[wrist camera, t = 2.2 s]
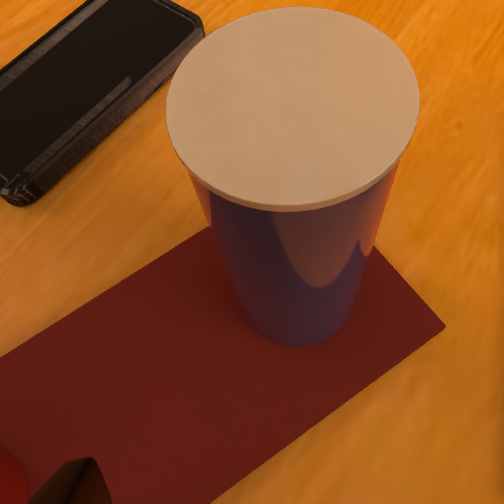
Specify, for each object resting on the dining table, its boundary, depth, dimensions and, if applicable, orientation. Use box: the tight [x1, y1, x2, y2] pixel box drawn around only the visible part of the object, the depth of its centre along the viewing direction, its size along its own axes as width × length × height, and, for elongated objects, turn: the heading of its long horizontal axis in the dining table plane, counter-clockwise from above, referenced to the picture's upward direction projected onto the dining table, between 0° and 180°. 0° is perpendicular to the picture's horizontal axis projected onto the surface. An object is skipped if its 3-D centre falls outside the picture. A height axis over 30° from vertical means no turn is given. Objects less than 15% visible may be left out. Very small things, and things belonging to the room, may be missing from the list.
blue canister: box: [165, 6, 420, 346], centre depth 16 cm, size 5×5×12 cm
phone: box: [0, 0, 205, 206], centre depth 27 cm, size 8×1×15 cm
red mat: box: [0, 226, 446, 504], centre depth 20 cm, size 24×10×1 cm, turn 124°
